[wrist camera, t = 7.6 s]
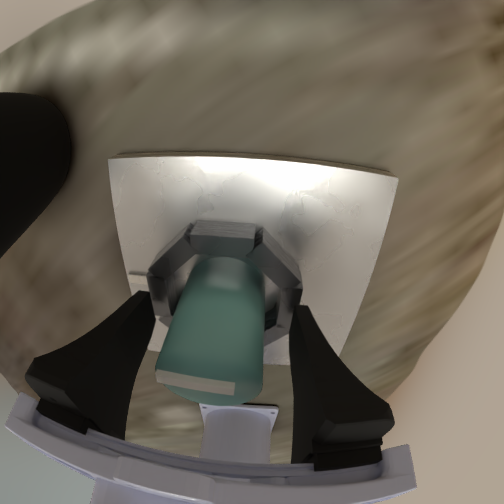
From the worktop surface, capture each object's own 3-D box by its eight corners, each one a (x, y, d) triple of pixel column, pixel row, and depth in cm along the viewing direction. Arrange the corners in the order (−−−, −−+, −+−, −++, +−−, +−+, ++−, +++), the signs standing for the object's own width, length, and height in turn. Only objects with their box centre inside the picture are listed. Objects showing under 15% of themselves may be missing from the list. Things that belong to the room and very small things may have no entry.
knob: (271, 262, 14) (270, 365, 9) (259, 322, 16) (254, 415, 11) (186, 252, 14) (144, 345, 9) (188, 312, 16) (161, 401, 11)
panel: (332, 353, 20) (337, 381, 17) (153, 338, 20) (142, 365, 18) (389, 171, 12) (412, 188, 10) (119, 153, 13) (91, 167, 10)
